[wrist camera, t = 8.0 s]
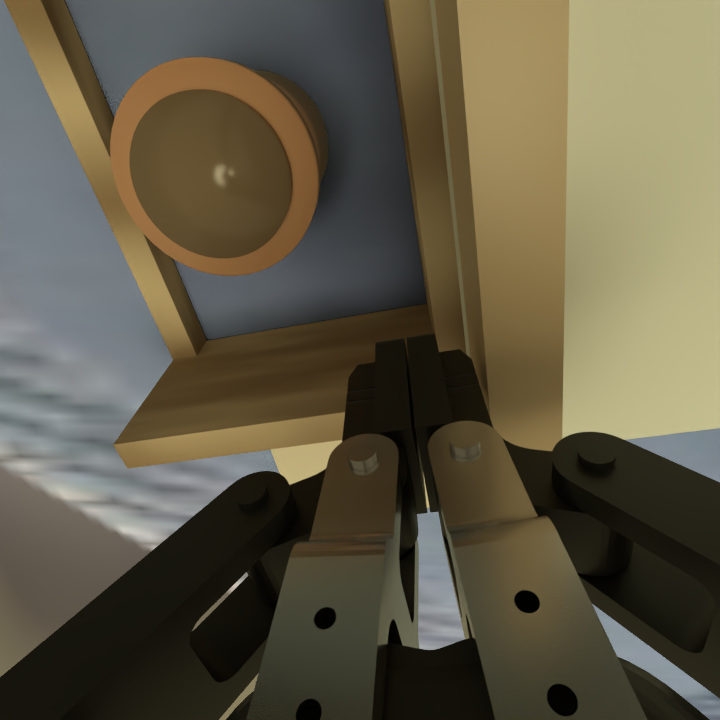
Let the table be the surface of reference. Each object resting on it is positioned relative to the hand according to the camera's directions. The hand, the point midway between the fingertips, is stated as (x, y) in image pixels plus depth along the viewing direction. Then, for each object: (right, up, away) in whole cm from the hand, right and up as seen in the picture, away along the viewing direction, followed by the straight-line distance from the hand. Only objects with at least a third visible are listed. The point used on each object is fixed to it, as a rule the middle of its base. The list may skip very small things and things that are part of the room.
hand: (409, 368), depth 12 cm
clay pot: (-5, +9, +7) cm, 12 cm away
